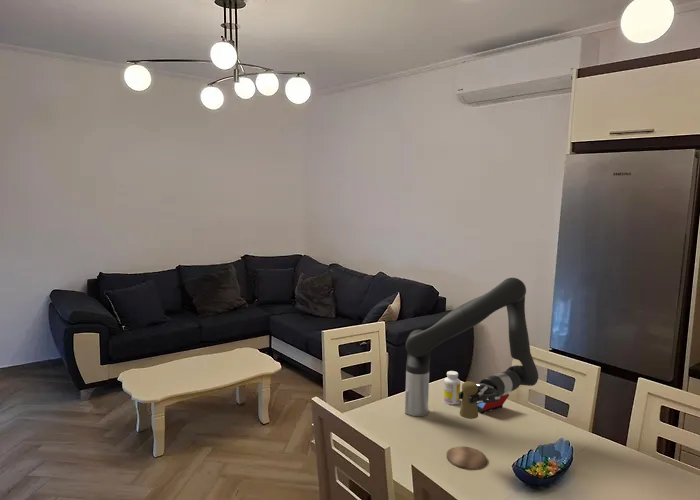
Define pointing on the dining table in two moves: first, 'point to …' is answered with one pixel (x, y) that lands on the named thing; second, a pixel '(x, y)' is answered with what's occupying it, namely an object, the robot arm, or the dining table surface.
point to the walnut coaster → (466, 457)
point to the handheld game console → (491, 405)
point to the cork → (467, 408)
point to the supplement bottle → (451, 388)
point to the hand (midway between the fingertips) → (464, 398)
